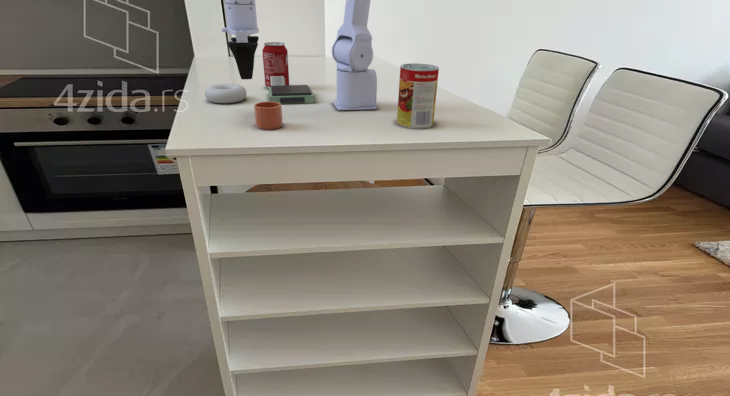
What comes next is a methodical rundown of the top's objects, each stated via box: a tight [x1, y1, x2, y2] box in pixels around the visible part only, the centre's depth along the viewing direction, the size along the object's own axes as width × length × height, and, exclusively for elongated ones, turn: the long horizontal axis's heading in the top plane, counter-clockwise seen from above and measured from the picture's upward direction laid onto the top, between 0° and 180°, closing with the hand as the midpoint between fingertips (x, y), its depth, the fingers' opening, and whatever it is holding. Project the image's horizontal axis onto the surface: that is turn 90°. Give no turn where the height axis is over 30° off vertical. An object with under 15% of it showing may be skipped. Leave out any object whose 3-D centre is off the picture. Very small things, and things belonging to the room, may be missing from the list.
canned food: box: [396, 62, 440, 130], centre depth 89 cm, size 8×8×12 cm
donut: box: [204, 83, 247, 104], centre depth 106 cm, size 10×4×10 cm
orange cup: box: [253, 101, 283, 131], centre depth 86 cm, size 5×5×4 cm
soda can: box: [262, 41, 290, 89], centre depth 118 cm, size 7×7×12 cm
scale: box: [268, 84, 316, 105], centre depth 109 cm, size 11×11×2 cm
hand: (247, 75), depth 88 cm, fingers open, 7 cm apart
